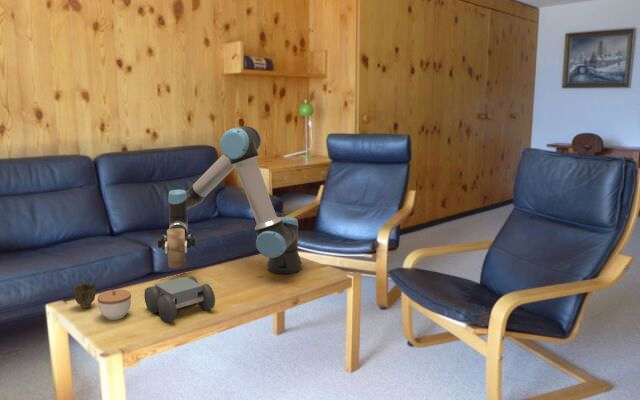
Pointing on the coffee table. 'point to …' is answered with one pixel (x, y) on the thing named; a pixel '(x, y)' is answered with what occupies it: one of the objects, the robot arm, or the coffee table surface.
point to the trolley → (178, 296)
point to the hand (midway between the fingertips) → (175, 249)
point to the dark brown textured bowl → (84, 294)
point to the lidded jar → (114, 303)
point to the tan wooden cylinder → (176, 248)
